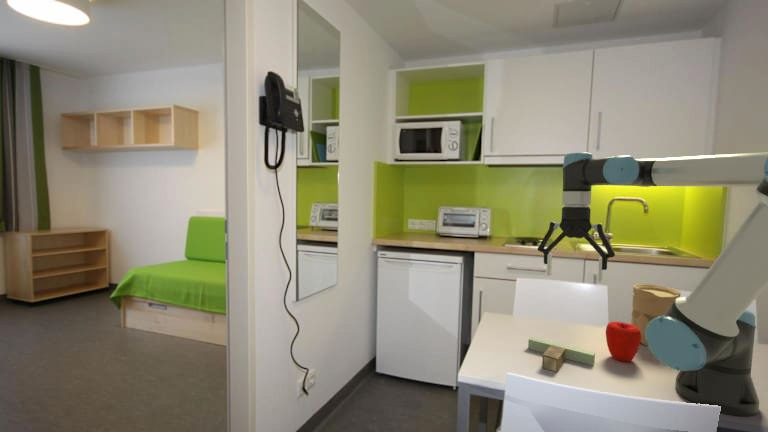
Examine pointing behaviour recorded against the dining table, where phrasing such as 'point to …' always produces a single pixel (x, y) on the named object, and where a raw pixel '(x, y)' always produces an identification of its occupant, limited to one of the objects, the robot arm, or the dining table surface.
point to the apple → (623, 340)
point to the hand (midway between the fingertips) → (573, 277)
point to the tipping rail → (570, 353)
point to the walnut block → (553, 358)
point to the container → (650, 305)
